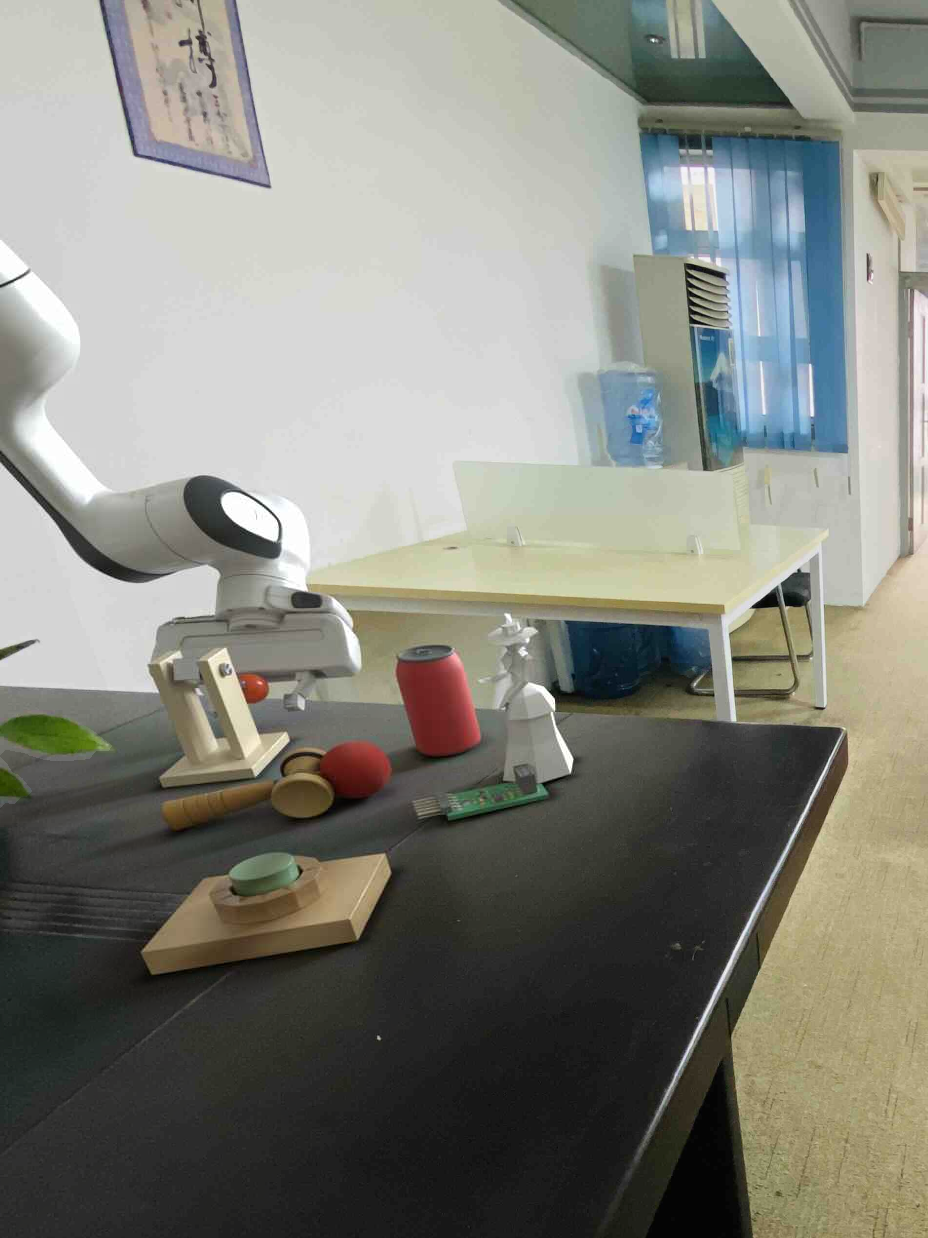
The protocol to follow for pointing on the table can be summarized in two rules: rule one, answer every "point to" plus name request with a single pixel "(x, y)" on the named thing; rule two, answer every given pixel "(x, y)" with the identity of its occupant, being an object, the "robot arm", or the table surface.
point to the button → (264, 874)
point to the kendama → (293, 785)
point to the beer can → (437, 700)
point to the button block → (270, 915)
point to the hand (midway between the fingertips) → (257, 712)
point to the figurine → (528, 710)
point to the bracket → (203, 752)
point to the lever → (190, 675)
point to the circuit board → (486, 797)
